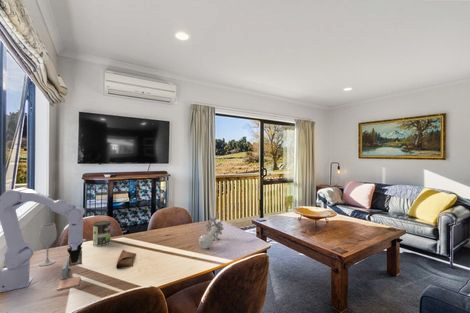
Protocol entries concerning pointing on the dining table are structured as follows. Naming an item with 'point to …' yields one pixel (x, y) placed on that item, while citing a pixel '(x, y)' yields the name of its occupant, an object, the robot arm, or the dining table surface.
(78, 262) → the brown cube
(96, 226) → the coffee can
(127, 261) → the sunglasses case
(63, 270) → the grey block with tabs
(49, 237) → the wineglass
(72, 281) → the coaster
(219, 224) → the flower vase
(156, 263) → the dining table surface
